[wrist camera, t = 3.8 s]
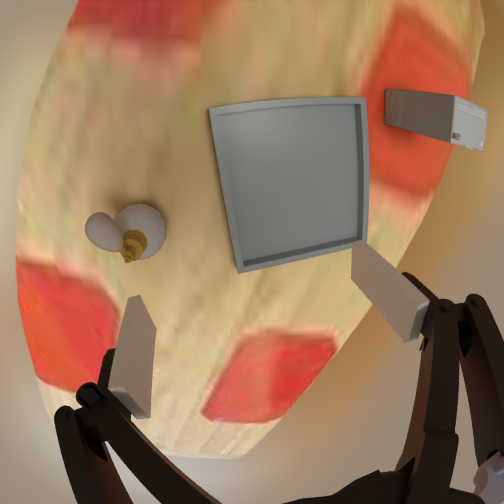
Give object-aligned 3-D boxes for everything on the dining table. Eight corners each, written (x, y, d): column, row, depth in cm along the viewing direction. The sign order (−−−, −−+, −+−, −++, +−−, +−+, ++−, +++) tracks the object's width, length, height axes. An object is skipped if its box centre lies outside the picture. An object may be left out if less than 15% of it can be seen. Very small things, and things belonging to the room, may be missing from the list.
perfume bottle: (157, 252, 41) (147, 300, 30) (100, 229, 37) (71, 270, 27) (176, 209, 38) (169, 246, 28) (115, 183, 35) (85, 212, 24)
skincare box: (418, 96, 36) (489, 105, 22) (416, 134, 39) (486, 154, 25) (381, 87, 34) (456, 88, 21) (381, 128, 38) (454, 145, 24)
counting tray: (208, 109, 33) (208, 108, 30) (356, 97, 35) (365, 97, 33) (235, 265, 44) (238, 273, 42) (359, 238, 46) (366, 244, 44)
